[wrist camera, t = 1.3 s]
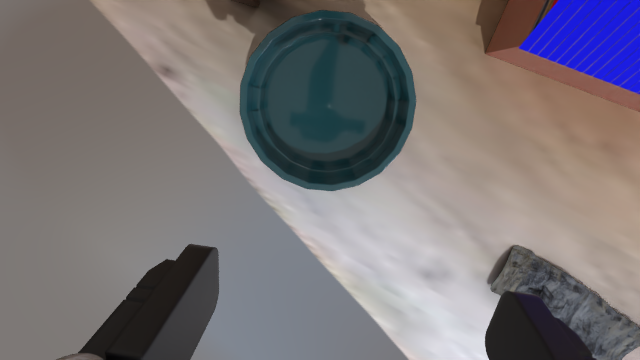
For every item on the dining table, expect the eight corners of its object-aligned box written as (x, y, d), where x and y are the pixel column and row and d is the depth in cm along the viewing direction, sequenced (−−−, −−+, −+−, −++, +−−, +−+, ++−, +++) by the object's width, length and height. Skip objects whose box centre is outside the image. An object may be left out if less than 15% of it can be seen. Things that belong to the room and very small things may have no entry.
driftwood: (479, 280, 39) (487, 291, 37) (521, 236, 37) (533, 245, 35) (602, 367, 42) (617, 381, 40) (646, 329, 41) (663, 342, 39)
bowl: (235, 44, 33) (217, 35, 27) (387, 6, 32) (399, -11, 26) (274, 188, 36) (265, 205, 31) (411, 158, 35) (427, 171, 30)
